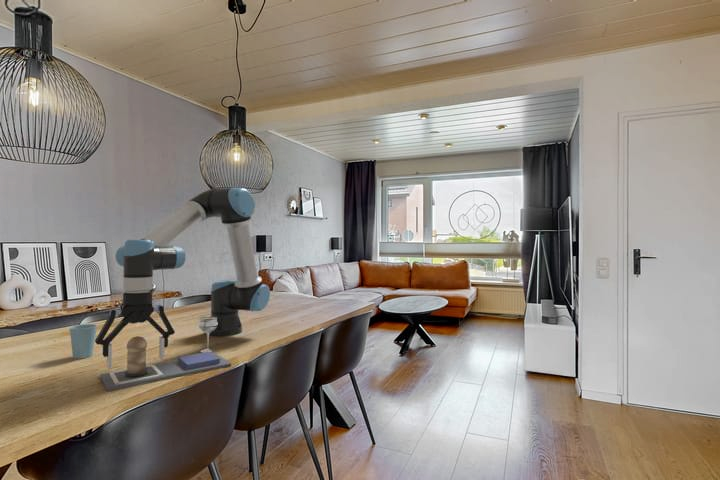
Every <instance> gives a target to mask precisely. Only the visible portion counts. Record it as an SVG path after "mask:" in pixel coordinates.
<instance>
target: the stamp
mask: <svg viewBox="0 0 720 480" xmlns="http://www.w3.org/2000/svg"><path fill="white" fill-rule="evenodd" d="M147 347H148V342H147V340H146V339H145V338H144V337H142V336H134V337H131V338H130V339H129V340H128V341H127V343H126V349H127V353H126V357H127V358H126V361H127V362H126V369H127V371H126V372H125V377H128V378H135V377H141V376H144V375H146V374H147V369H146V366H147Z"/></svg>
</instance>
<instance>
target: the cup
mask: <svg viewBox="0 0 720 480" xmlns="http://www.w3.org/2000/svg"><path fill="white" fill-rule="evenodd" d="M97 328H98V325H97V324H93V323H92V324H91V323H90V324H89V323H87V324H79V325H73V326H70V327H69V335H70V343H71V353H72V359H76V360H79V359H80V360H81V359H87V358H90V357H92V356H93V355H94V348H95V343H96V342H95V340H96V337H97V335H96V334H97V331H98V330H97Z"/></svg>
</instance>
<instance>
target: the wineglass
mask: <svg viewBox="0 0 720 480" xmlns="http://www.w3.org/2000/svg"><path fill="white" fill-rule="evenodd" d="M217 319H218V318H217V317H211V316H202V317H200V318H198V321H199V322H198V328H199V330H201V332H203V333H205V334H206V348H204V349H201V350H200V353H204V352H210V353H212V352H215V351H216V350H215V349H214V348H209V342H210V335H209V334H210V332H212V331H214V330H215V329H216V328H217V326H218V321H217Z"/></svg>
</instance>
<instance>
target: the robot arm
mask: <svg viewBox="0 0 720 480" xmlns="http://www.w3.org/2000/svg"><path fill="white" fill-rule="evenodd" d="M183 205H184V206H183V207H182V209H179V211H177V212H176V213H174V214H173V215H172V216H170V217H169V218H168V219H166V220H165V221H163V222H162V223H161V224H159V225H158V226H156V227H155V228H154V229H152V230H151V231H150V232H148V233H146V234H145V235H144V236H142V237H141V238H140V239H127V240H126V241H124V245H122V246H120V247H119V248H118V249H117V250H116V251H115V261H116V263H117V264H118V265H120V267H123V282H122V283H123V285H122V287H123V288H122V290H123V291H124V292H123V293H122V308H121V309H114V308H110V310H109V312H108V313H109V314H108V317H107V319H106V321H105V323H104V324H103V326H102V328H101V329H100V330H99V333H98V335H96V337H95V343H96V345H101V346H102V356H103V357H104V358H106V367H107V369H108V370H110V369H112V362H113V361H112V359H113V358H112V356H113V355H112V354H113V353H112V351H113V345H112V343H111V342H112V341H113V340H114V339H115V338H116V337H117V335H119V333H120V332H121V331H122V330H123V329H124V328H125V327H126V326H127V325H128V324H129V323H130V324H132V325H133V324H137V323H145V322H148V323H149V324H150V325H151V326H152V327H153V328H154V329H155V330H156V331H158V333H160V334H161V335H162V336H159V343H158V344H159V346H158V348H159V350H158V352H159V353H158V358H159V359H160V360H165V348H168V346H169V337H170V336H171V335H172V336H173V335H174V334H175V329H174V328H173V326H172V325H171V323H170V321H169V319H168V317H167V315H166V313H165V308H164V305H161V304H158V305H157V306H153V292H152V291H151V290H153V278H154V277H153V275H154V271H157V270H160V271H161V270H176V269H180V268H182V267H183V266H184V264H185V262H186V259H187V258H186V252H185V250H184V249H183V248H182V247H180V246H178V245H172V244H173V242H175V241H177V240H178V239H179V238H180V237H181V236H183V235H184V234H185V233H186V232H188V231H189V230H190V229H191V228H193V227H194V226H195V225H196V224H197V223H203V222H204V221H206V220H207V219H211V218H220V220H221V224H222V225H224V226H225V227H226V230H227V237H228V240H229V245H230V249H231V255H232V259H233V260H232V261H233V264H234V269H235V270H234V272H235V275H236V279H231V280H223V281H215V282H213V283H212V284H211V291H210V293H211V294H210V317H217V318H218V319H217V321H218V326H217V328H216V329H215V330H214V331H212V332H210V334H209V336H217V337H218V336H219V337H222V336H232V335H237V334H241V333H242V332H243V325H242V321H241V318H240V315H239V311H249V312H262V311H263V310H264V309H265V308H266V307H267V306H268V304H269V302H270V297H271V290H270V287H269V286H268V285H267V284H264V283H263V278H262V277H261V276H259V275H258V270H257V265H256V259H255V254H254V249H253V248H254V247H253V242H252V237H251V231H250V226H249V222H250V221H251V219H252V215H253V214H254V213H255V207H256V206H255V205H256V204H255V200H254V197H253V195H252V193H251V192H250V191H248V189H246V188H244V187H224V188H222V187H221V188H210V189H207V190H205V191H202V192H200V193H199V194H197V195H195V196H193V197H192V198H191V199H189V200H188V201H186V202H185V203H184V204H183ZM154 312H155V313H156V314H158V315H159V317H160V319H161V321H162V323H163V324H164V326H165V328H166V330H164V328H163V327H161V325H159V324H158V322H157V321H155V320H154V319H153V317H152V316H151V315H152V314H153V313H154ZM119 315H121V316H122V317H123V318H122V319H121V320H120V321H119V323H118V324H117V325H116V326H115V327H114V328H113V329H112V330H111V331H110V333H109V334H108V331H109V330H110V328H111V326H112V325H113V323H114V321H115V319H116V318H118V317H119ZM107 334H108V335H107ZM106 335H107V336H106Z"/></svg>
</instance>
